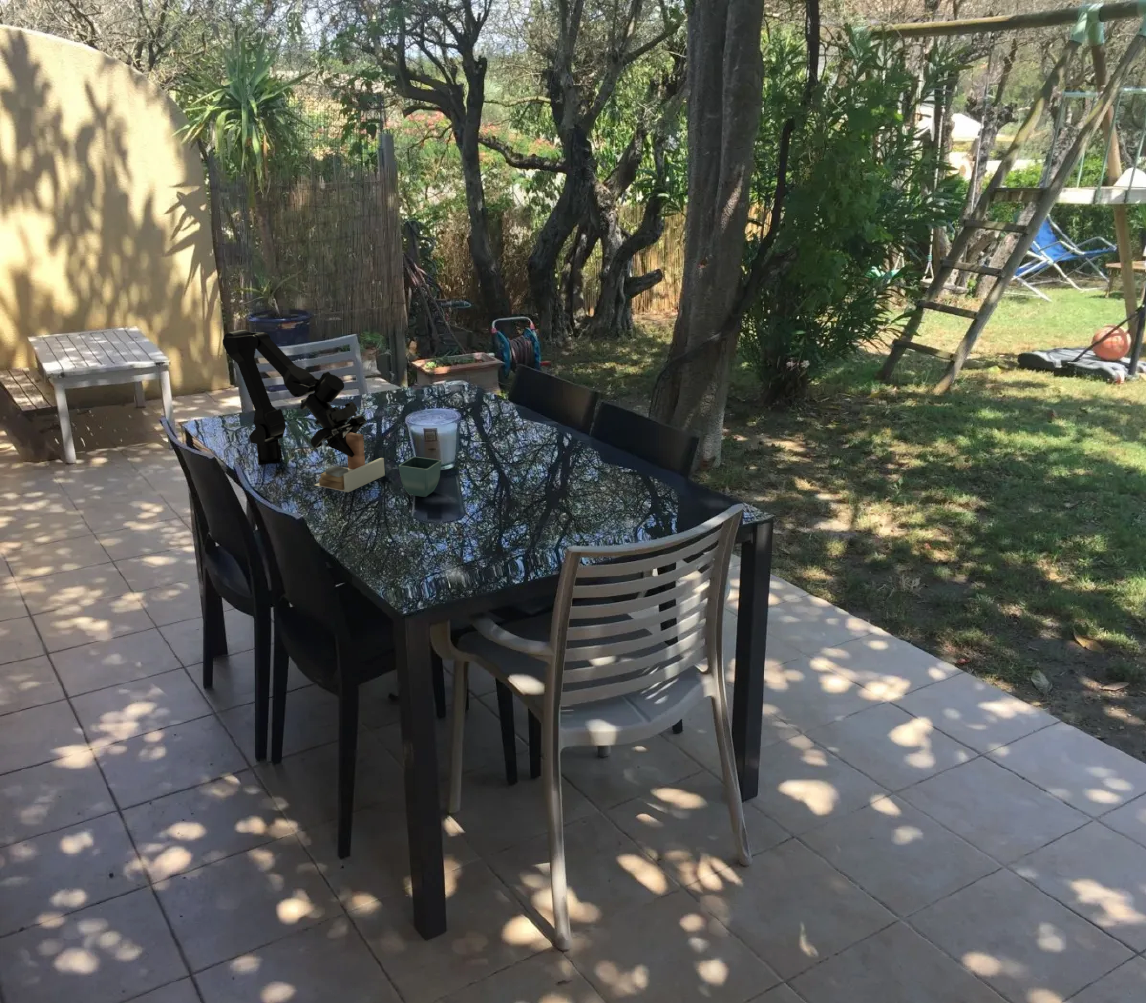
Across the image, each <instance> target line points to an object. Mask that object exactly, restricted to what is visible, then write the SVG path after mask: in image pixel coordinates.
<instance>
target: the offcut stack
mask: <svg viewBox="0 0 1146 1003" xmlns="http://www.w3.org/2000/svg"><path fill="white" fill-rule="evenodd" d="M346 468H347V467H344V468H343V466H340V465H339V466H338V465H333V466H330V467H327V468H325V470H324V471H323V472H322V473H321V474H320V478H319V479H318V483H319V485H320V486H325V487H330V488H335V489H339V490H344V489H345V487H344V475H343V474H345V473H347V472H348V469H346ZM320 486H319V487H320ZM325 487H324V488H325ZM330 488H329V489H330ZM335 489H334V490H335ZM339 490H338V491H339Z"/></svg>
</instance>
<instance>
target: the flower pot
mask: <svg viewBox="0 0 1146 1003" xmlns="http://www.w3.org/2000/svg"><path fill="white" fill-rule="evenodd" d="M441 467H442V460H441V459H436V458H428V457H422V456H421V457H419V456H412V457H410V458H408V459H407V460H405V461H404V462H402V463H400V464H399V465H398V470H399V476H400V481H401V484H402V486H403V488H404V490H405V491H406V492H407V494H408V495H410V496H413V497H414V496H416V497H420V498H421V497H423V498H426V497H428V496H429V495H430V494H432V493H433V492H434V491H435V489H436V488H437V485H438V484H439V481H440V477H441Z"/></svg>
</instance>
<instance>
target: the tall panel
mask: <svg viewBox="0 0 1146 1003" xmlns="http://www.w3.org/2000/svg"><path fill="white" fill-rule="evenodd" d="M346 443H347V444H348V446H349V447H350V448H351V450H352V451H353V453H354V456H353V457H350V456H348V455H346V456H347V468H349V469H356V468H358V467H361V466H363V465H365V464H366V458H365V443H364V434H361V433H358V432H356V433H351V432H350V433H348V434H346Z"/></svg>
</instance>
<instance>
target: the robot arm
mask: <svg viewBox="0 0 1146 1003" xmlns="http://www.w3.org/2000/svg"><path fill="white" fill-rule="evenodd" d="M222 346H223V348H224V349H225V351H226V353H227V355H228V356H229V358H230V359H232V361H234V362H235V363H236V364H237V366H238V368H239V372H240V374H241V377H242V380H243V382H244V385H245V387H246V390H247V393H248V395H249V397H250V400H251V403H252V406H253V408H254V414H253V415H254V416H253V425H254V429H253V431H252V432H251V433H250V434H249V436H248V438H249V441H250V443H251V444H255V445H256V450H257V452H256V453H257V462H258V465H263V464H273V463H274V464H275V463H281V462H282V460H281V459H282V458H283V452H282V445H281V443H280V442H279V440H280V439H283V438H284V435H285V434H284V433H285V431H286V428H287V424H286V422H287V420H286V418H285V417H284V413H283V411H282V409H281V408H277V409H276V407H275V406H274V405H272V402H271V399H270V397H269V394H268V391H267V388H266V386H265V384H264V381H263V378H262V376H261V372H260V370H259V367H258V365H257V362H256V360H255V359H256V358H255V356H256V351H258V353H259V354H260V355H261V356H262V357H263V358H264V359H265V360H266V361H267V362H268V363H269V364H270V365H271V367H273V368H274V369H275V371H276V372H277V373H278V374H279V375H280V376H281V378H282V380H283V385H284V386H285V388H286V389H287V391H288V392H289V394H291V396H293V397H294V398H301V397H304V396H306V395H307V397H306V398H302V399H301V400H300V408H299V409H300V410H301V411H302V410H305V409H307V410H308V411H309V412H310V413H311V414H312V416H313V418H315V419H316V420H315V422H314V423H315V425H316V426H318V425H320V426H321V429H318V430H317V431H316V432H315V433H314V434H313V436H312V437H311V438H310V440H309V441H310V445H311V446H312V447H313V449H314V450H315V449H318V448H321V447H322V446H323V441H325V440H326V442H327V443H326V444H325V447H327V448H331V449H334V450H335V451H338V452H340V453H342V454H345V455H346V456H347V455H348V456H350V457H353V456H354V453H353V451H352V450H351V448H350V447H349V446H348V444H347V443H346V434H348V433H350V432H351V433H358V432H359V430H361V428H362V427H363V426H364V425H365V424H366V423H367V420H366V418H365V417H364V416H363V415H357V413H358V410H359V409H358V406H357V405H356V403H355V402H353V401H350V402H347V403H345V404H344V407H341V408H339V407H338V406H334V407H333V406H332V405H331V403H332V402H334V400H335V399H336V398H337V397H338V396H339V395H340V393H341V392H342V391H343V390H344V389H345V384H344V381H343V379H342V378H340V377H338V376H337V375H335V374H331V372H330V371H325V372H323V373H322V374H321V376H320V378H317V377H315V375H313V374H312V373H311V372H309V371H308V370H307V369H305V368H302V367H300V366H298V365H296V364H295V363H294V362H293V361H292V360H291V359H290V358H289V357H288V356H287V355H286V353H285V352H284V351H283V350H281V348H280V347H279V346H278V345H277V344H276V343H275V342H274V341H273V340H272V339H271V336H270V334H268V333H267V332H258V331H256V332H255V331H253V332H252V331H249V330H247V329H241V330H240V329H239V330H235V331H230V332H227V333H225V334H224V336H223V339H222Z"/></svg>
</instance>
